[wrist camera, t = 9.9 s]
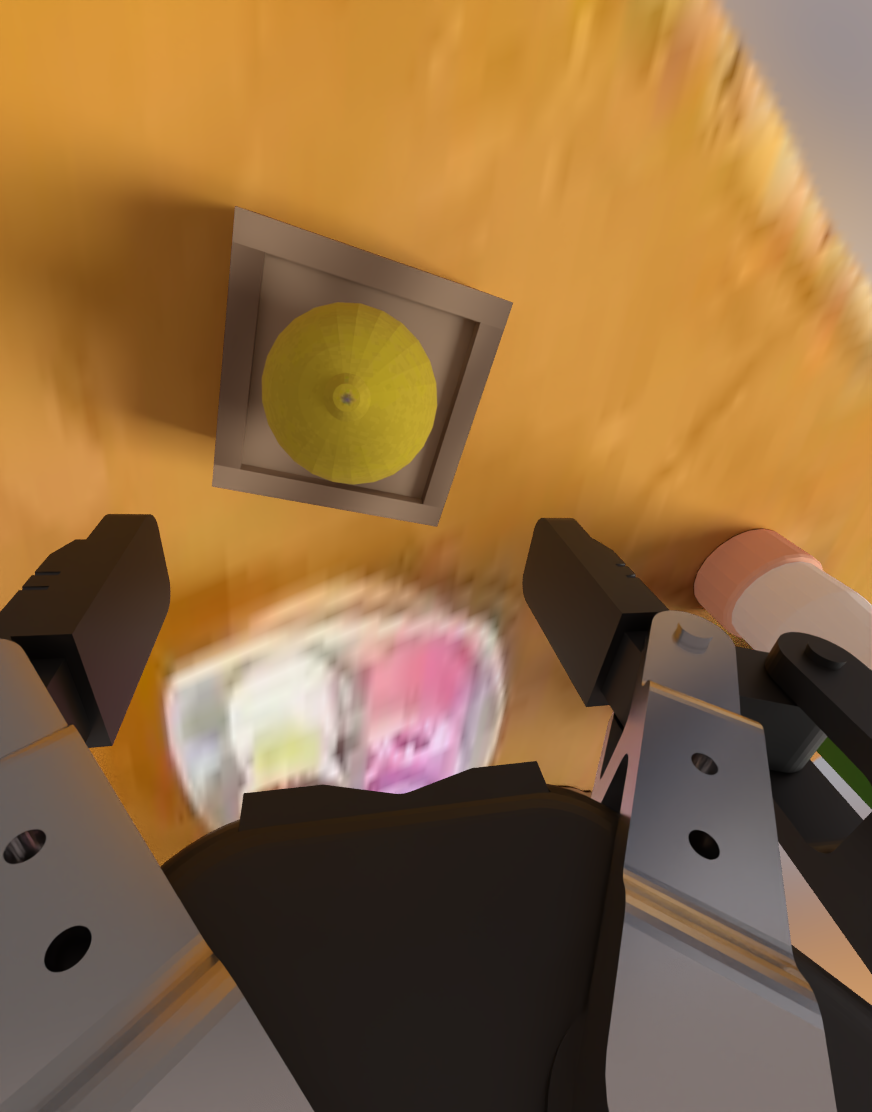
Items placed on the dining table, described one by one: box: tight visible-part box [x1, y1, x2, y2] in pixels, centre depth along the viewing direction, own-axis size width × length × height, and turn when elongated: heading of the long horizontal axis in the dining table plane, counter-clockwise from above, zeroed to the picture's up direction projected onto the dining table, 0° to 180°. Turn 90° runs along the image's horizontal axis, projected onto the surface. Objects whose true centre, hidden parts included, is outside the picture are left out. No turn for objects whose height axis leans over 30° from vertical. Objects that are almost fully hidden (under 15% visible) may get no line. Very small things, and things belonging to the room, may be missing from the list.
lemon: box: [262, 302, 437, 485], centre depth 16 cm, size 6×6×8 cm
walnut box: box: [212, 206, 513, 527], centre depth 22 cm, size 10×10×6 cm
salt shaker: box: [694, 529, 872, 670], centre depth 29 cm, size 7×7×19 cm
